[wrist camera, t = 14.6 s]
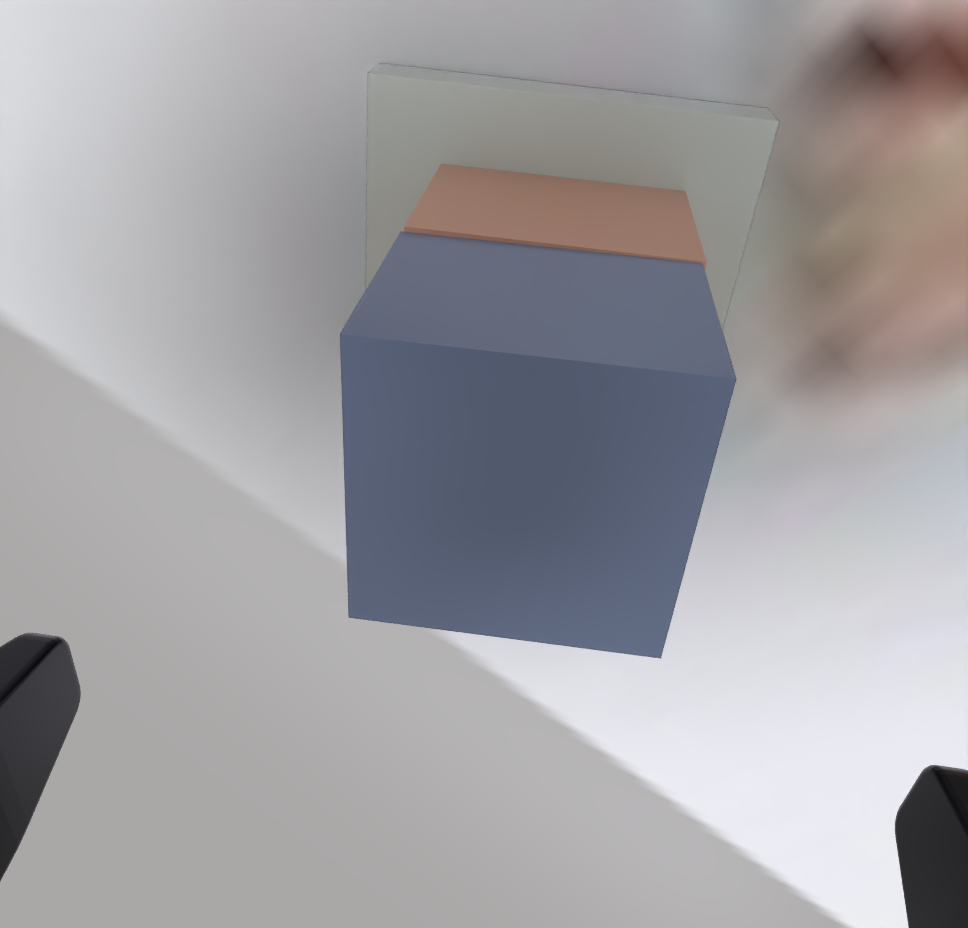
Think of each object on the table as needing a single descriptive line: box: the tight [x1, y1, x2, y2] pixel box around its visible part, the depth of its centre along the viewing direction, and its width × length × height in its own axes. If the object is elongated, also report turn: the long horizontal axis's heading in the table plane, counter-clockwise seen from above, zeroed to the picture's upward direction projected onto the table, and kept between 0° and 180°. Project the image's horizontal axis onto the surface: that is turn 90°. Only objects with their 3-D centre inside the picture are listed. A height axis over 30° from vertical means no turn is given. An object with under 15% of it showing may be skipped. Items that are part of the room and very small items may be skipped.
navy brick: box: [340, 231, 736, 658], centre depth 14 cm, size 5×5×4 cm
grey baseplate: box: [366, 63, 779, 330], centre depth 19 cm, size 8×8×1 cm
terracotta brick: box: [404, 164, 707, 269], centre depth 17 cm, size 5×5×4 cm
